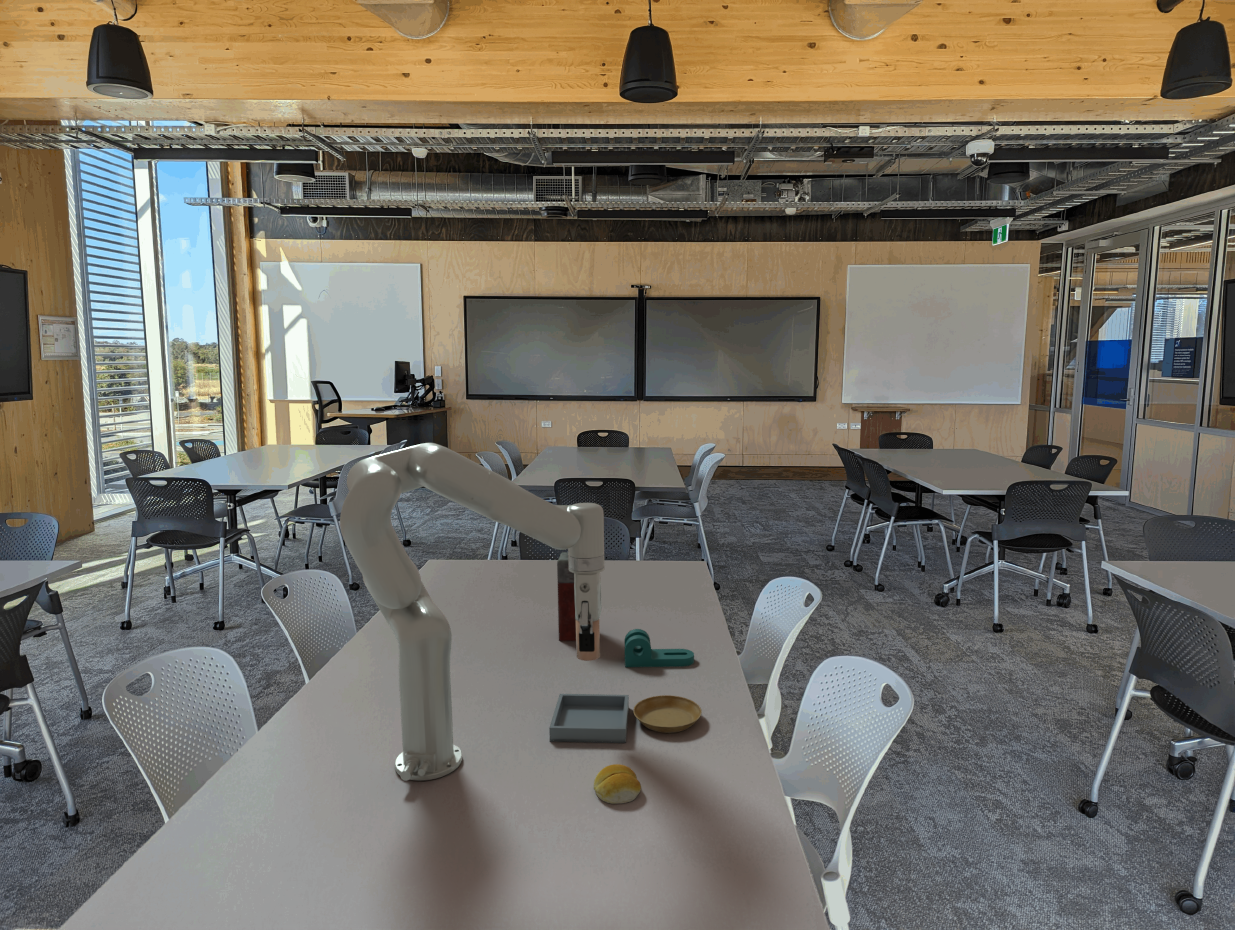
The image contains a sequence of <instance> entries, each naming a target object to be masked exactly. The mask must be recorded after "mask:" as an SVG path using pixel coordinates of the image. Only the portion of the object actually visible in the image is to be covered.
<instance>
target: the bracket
mask: <svg viewBox="0 0 1235 930" xmlns="http://www.w3.org/2000/svg"><path fill="white" fill-rule="evenodd" d="M694 663H695V653H694V652H693V651H692V650H691V649H687V648H652V646H651V639H650V635H649V633H647V631H645V630H643V629H642V628H634V629H631V630H629V631H628V632H627V633H626V635H625V637H624V667H625V668H667V667H668V668H669V667H675V668H677V667H681V668H683V667H684V668H685V667H689V666H691V665H694Z"/></svg>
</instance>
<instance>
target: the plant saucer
mask: <svg viewBox="0 0 1235 930" xmlns="http://www.w3.org/2000/svg"><path fill="white" fill-rule="evenodd" d="M633 714H634V717H636V719H637V721H638V722H640V724H642V725H643V726H645V728H647V729H649V730H651V731H654V732H657V733H664V734H672V733H673V734H675V733H679V732H684V731H685V730H688V729H690V727H692V726H693V725H695V723H696V722H697V721H698V720H699V719H700V718H701V716H702V708H701V707H700V705H699V704H698V703H697V702H695V701H693V700H692V699H689V698H686V697H684V696H683V697H682V696H677V695H671V694H668V695H667V694H666V695H665V694H664V695H655V696H650V697H647V698H644V699H641V700H640V701H638V702H637V703H636V704H635V705H634V707H633Z"/></svg>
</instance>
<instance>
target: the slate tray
mask: <svg viewBox="0 0 1235 930" xmlns="http://www.w3.org/2000/svg"><path fill="white" fill-rule="evenodd" d="M629 695H630V694H602V693H601V694H599V693H598V694H594V693H593V694H591V693H587V694H586V693H559V694H558V698H557V701H556V704H555V708H554V710H553V711H554V712H553V714H552V718H551V722H550V724H549V727H548V728H549V733H548V734H549V742H555V743H558V742H559V743H560V742H561V743H562V742H563V743H603V744H604V743H605V744H606V743H607V744H617V743H618V744H626V743H627V733H628V722H629V711H630V710H629V709H630V707H629V706H630V702H629V701H630V700H629V699H630V698H629V697H630V696H629Z"/></svg>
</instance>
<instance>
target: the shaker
mask: <svg viewBox="0 0 1235 930" xmlns="http://www.w3.org/2000/svg"><path fill="white" fill-rule="evenodd" d="M588 608H589V607H588ZM588 618H591V616H588ZM575 619H576V641H575V645H576V646H575V647H576V658H577V659H578V660H580V661H585V662H586V661H587V662H591V661H596V660H597V659H599V658H601V640H600V639H601V631H600V629H601V628H600V618H599V619H598V620H596V619H593V632H594V637H595V650H594V652H580V651H579V629H580V621H579V620H578V619H577V618H576V613H575ZM588 624H590V621H588Z"/></svg>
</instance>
